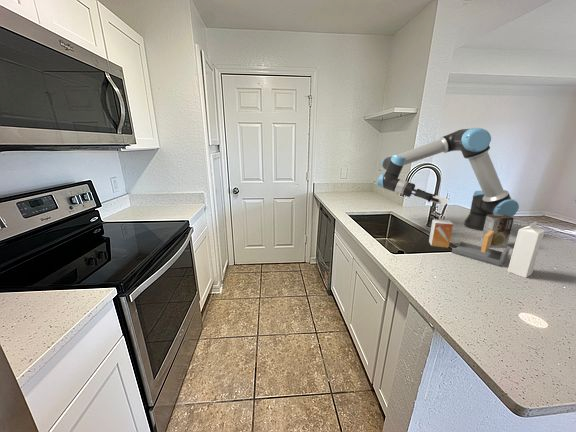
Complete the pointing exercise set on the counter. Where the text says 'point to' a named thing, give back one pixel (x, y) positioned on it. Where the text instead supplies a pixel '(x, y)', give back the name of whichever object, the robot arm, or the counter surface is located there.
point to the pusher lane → (482, 254)
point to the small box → (440, 233)
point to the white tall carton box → (526, 250)
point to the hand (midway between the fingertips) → (447, 202)
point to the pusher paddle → (487, 241)
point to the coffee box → (498, 229)
